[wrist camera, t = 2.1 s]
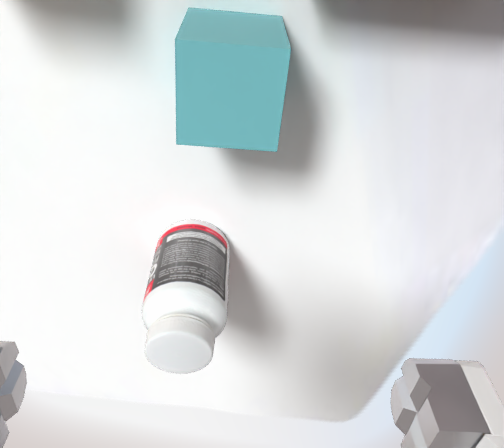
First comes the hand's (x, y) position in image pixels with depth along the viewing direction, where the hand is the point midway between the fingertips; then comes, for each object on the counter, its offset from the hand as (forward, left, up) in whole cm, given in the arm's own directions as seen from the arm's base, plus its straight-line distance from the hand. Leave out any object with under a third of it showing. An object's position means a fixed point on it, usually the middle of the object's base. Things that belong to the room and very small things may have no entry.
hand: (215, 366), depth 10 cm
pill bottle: (+14, -2, -21) cm, 25 cm away
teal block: (0, 0, -20) cm, 20 cm away
